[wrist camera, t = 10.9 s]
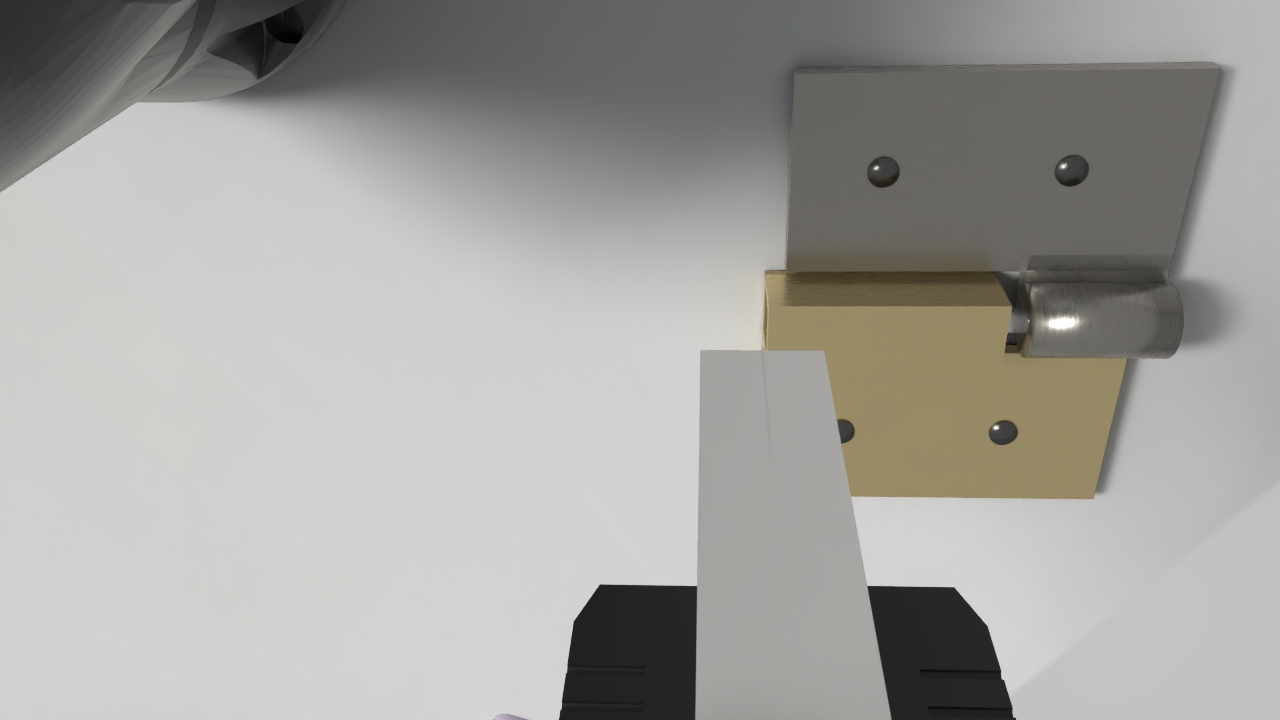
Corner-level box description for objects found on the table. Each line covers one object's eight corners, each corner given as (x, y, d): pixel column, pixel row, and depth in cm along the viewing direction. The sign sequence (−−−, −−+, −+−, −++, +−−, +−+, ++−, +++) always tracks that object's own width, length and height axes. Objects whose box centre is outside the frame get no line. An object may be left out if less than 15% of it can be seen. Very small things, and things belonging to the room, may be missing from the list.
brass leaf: (757, 485, 49) (760, 529, 47) (765, 270, 43) (768, 306, 41) (1088, 489, 48) (1110, 533, 46) (1140, 269, 42) (1169, 306, 40)
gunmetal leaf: (781, 333, 45) (786, 371, 42) (793, 67, 39) (799, 92, 37) (1144, 333, 44) (1171, 372, 41) (1211, 61, 38) (1248, 87, 36)
